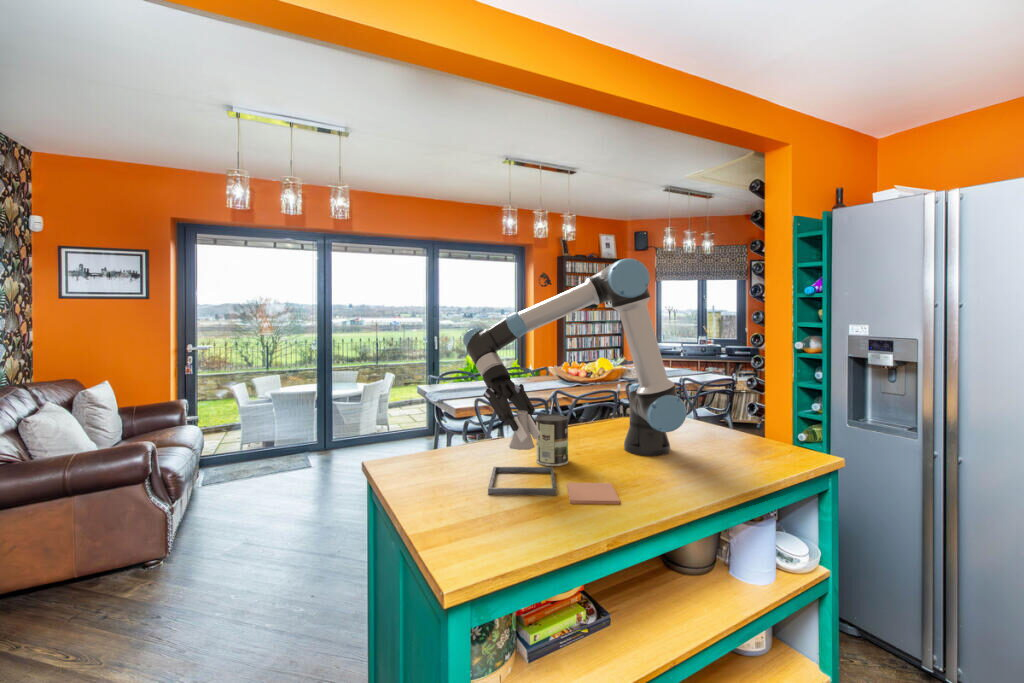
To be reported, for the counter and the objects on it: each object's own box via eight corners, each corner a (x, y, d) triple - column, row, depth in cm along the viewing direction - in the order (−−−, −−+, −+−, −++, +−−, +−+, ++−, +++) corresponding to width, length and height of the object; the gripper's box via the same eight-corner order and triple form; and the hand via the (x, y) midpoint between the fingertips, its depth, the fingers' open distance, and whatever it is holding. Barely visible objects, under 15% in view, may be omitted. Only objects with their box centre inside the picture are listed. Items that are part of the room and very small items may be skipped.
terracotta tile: (611, 485, 123) (611, 482, 123) (619, 503, 111) (619, 500, 111) (566, 485, 123) (566, 482, 123) (570, 503, 112) (570, 500, 111)
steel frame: (553, 472, 134) (553, 467, 134) (556, 495, 117) (556, 489, 117) (493, 471, 135) (493, 466, 135) (488, 494, 118) (487, 488, 118)
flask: (537, 445, 128) (537, 409, 128) (531, 451, 121) (532, 414, 121) (512, 443, 130) (512, 408, 130) (505, 449, 123) (505, 413, 123)
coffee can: (566, 456, 150) (566, 413, 149) (570, 466, 139) (570, 421, 139) (535, 456, 150) (535, 414, 149) (536, 466, 140) (536, 421, 139)
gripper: (510, 377, 142) (547, 440, 130) (464, 382, 131) (500, 451, 119) (521, 361, 137) (560, 425, 125) (474, 365, 127) (512, 435, 115)
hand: (530, 437), depth 122 cm, fingers closed on flask, 4 cm apart
